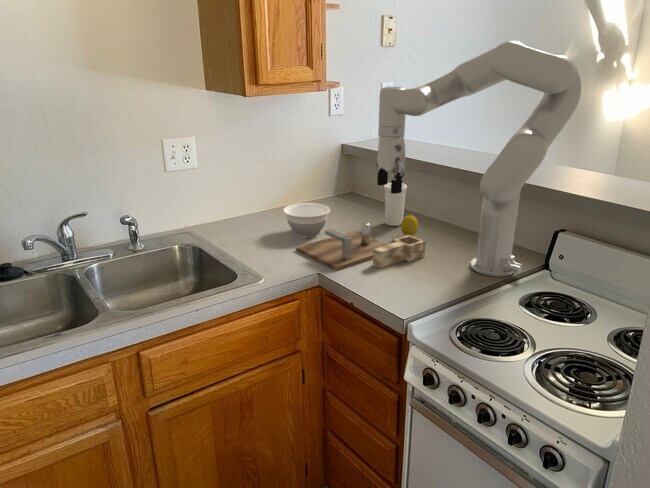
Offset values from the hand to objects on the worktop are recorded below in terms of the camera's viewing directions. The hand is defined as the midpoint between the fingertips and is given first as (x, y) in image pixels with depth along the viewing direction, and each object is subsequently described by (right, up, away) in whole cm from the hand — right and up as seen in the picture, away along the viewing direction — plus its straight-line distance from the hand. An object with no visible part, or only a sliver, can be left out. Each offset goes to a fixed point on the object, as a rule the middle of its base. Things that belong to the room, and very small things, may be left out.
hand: (389, 188), depth 161 cm
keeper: (-15, -20, +2) cm, 25 cm away
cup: (+6, -10, +32) cm, 34 cm away
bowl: (-25, -13, +23) cm, 37 cm away
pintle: (-6, -17, +10) cm, 20 cm away
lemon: (+9, -15, +19) cm, 26 cm away
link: (+2, -21, +1) cm, 21 cm away
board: (-13, -19, +8) cm, 24 cm away
